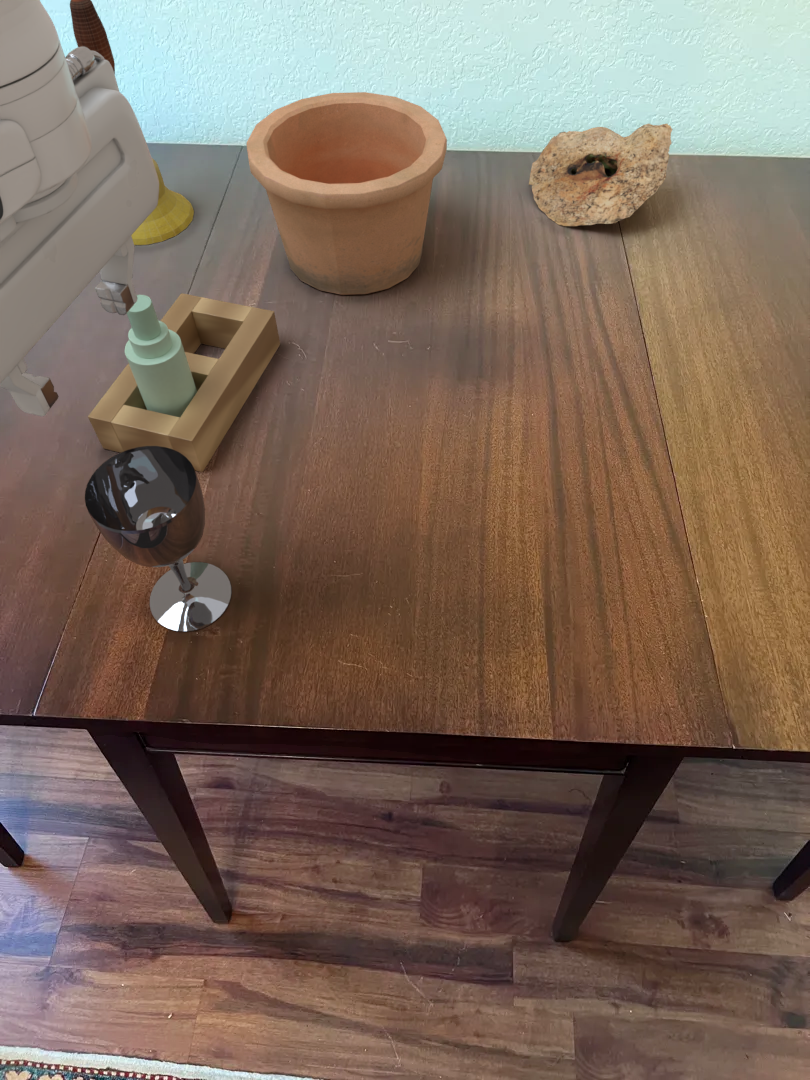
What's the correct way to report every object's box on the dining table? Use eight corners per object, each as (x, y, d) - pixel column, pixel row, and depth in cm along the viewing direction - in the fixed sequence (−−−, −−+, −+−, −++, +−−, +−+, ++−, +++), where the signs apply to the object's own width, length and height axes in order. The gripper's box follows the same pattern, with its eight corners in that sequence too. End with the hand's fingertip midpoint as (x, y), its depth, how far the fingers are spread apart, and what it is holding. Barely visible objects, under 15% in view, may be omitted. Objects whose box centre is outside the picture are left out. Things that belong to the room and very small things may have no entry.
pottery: (246, 302, 92) (221, 186, 80) (291, 198, 104) (275, 85, 93) (429, 318, 89) (430, 202, 78) (452, 210, 102) (456, 96, 90)
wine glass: (190, 544, 71) (142, 430, 59) (255, 586, 69) (219, 475, 56) (125, 605, 68) (60, 497, 55) (191, 652, 65) (138, 549, 53)
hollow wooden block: (102, 448, 78) (87, 416, 75) (190, 325, 89) (181, 292, 86) (202, 472, 76) (192, 441, 73) (280, 344, 87) (274, 311, 84)
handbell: (196, 238, 99) (139, 16, 79) (97, 251, 98) (14, 29, 78) (191, 186, 106) (138, -29, 86) (99, 197, 105) (23, -18, 85)
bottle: (145, 434, 80) (96, 315, 67) (168, 399, 82) (126, 280, 70) (190, 445, 79) (149, 327, 67) (213, 409, 81) (177, 290, 69)
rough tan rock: (533, 262, 106) (515, 220, 100) (550, 182, 111) (534, 137, 105) (671, 241, 97) (661, 194, 91) (682, 155, 102) (673, 105, 96)
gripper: (47, 25, 43) (121, 249, 54) (-233, 229, 31) (-65, 461, 42) (150, 39, 42) (204, 265, 53) (-99, 255, 30) (37, 486, 41)
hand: (83, 354), depth 48 cm, fingers open, 8 cm apart
